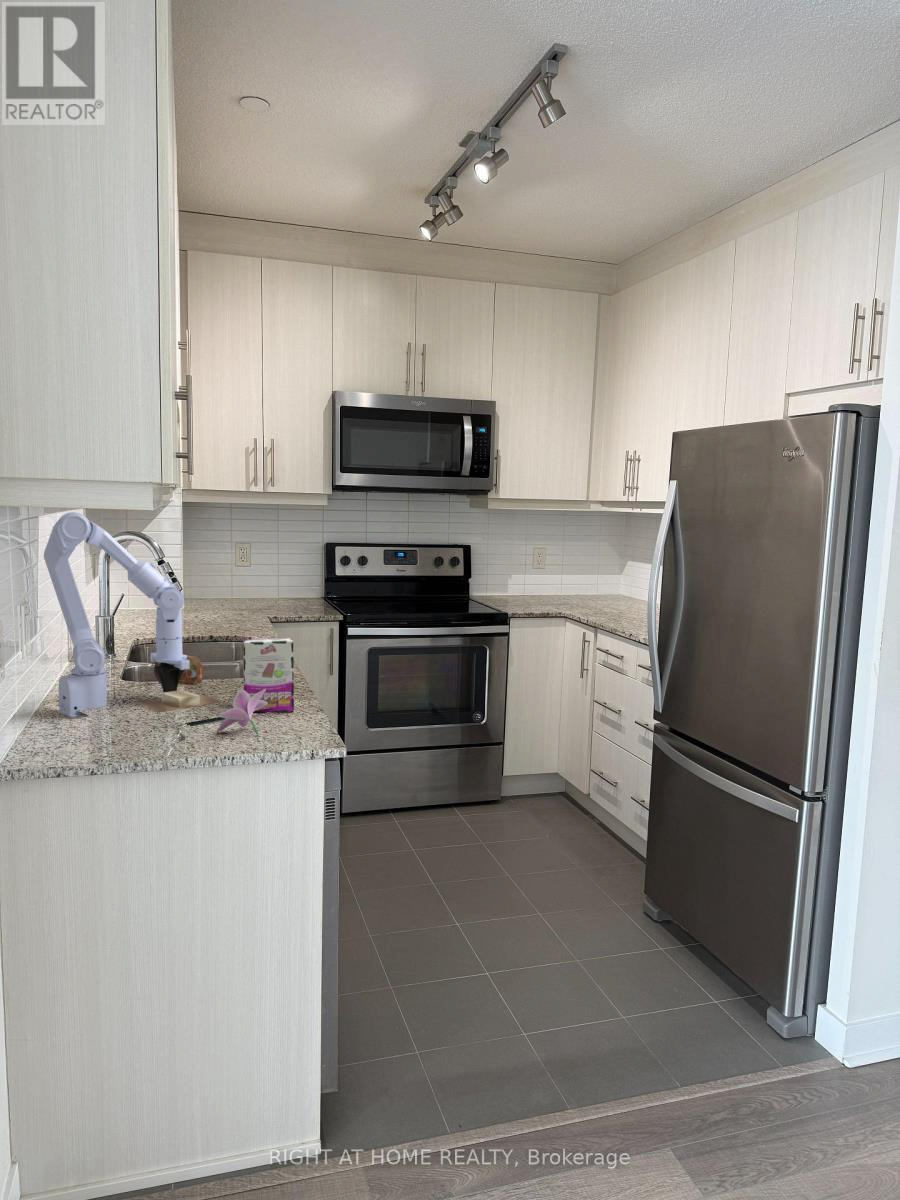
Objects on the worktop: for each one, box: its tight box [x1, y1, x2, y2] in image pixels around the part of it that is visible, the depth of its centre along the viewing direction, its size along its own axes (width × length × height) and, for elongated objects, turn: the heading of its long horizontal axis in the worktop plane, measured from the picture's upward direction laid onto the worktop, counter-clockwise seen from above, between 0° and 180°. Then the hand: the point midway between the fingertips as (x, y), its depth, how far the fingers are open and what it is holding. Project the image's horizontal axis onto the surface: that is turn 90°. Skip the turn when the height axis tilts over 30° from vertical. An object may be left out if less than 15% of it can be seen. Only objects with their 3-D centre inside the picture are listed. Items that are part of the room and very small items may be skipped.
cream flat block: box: [161, 689, 200, 708], centre depth 189 cm, size 5×8×2 cm, turn 47°
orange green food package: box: [153, 655, 204, 686], centre depth 213 cm, size 15×3×8 cm, turn 62°
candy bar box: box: [242, 637, 295, 714], centre depth 189 cm, size 11×5×16 cm, turn 105°
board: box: [133, 692, 225, 713], centre depth 190 cm, size 16×12×2 cm
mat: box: [184, 716, 226, 727], centre depth 182 cm, size 12×11×1 cm
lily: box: [216, 688, 268, 736], centre depth 170 cm, size 12×12×10 cm
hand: (170, 696), depth 193 cm, fingers closed
